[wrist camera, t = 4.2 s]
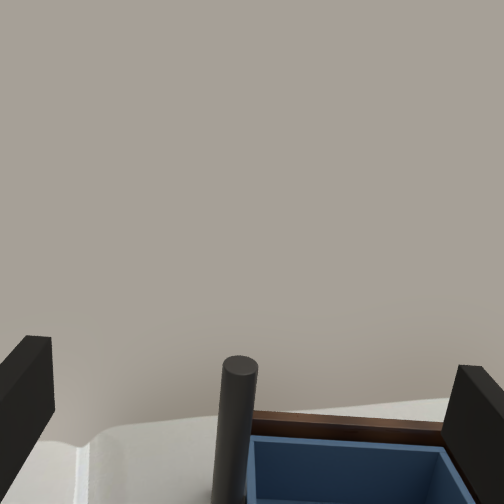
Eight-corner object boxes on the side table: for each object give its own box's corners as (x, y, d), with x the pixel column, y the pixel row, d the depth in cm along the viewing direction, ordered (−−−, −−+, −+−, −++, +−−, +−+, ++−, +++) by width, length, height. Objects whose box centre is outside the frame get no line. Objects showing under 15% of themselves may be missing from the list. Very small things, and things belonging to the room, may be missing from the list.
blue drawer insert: (198, 659, 26) (218, 431, 21) (210, 495, 36) (225, 318, 31) (499, 670, 26) (587, 453, 22) (426, 507, 37) (474, 336, 32)
